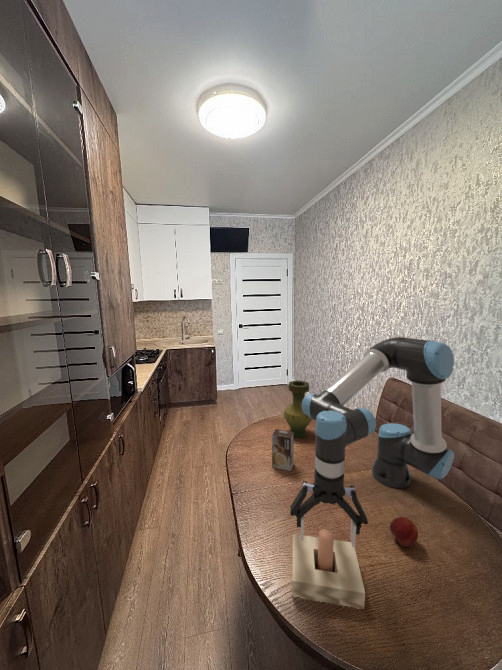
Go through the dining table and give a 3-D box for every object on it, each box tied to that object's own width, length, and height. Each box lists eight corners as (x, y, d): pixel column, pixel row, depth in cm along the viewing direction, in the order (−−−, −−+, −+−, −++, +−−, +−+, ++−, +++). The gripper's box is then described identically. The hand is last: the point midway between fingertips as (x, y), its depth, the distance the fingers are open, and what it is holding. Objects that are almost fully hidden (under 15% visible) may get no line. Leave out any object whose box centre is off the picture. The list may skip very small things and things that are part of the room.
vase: (282, 426, 161) (283, 379, 157) (309, 427, 161) (310, 379, 156) (284, 441, 145) (285, 388, 141) (314, 442, 144) (316, 388, 140)
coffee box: (294, 463, 126) (294, 431, 124) (290, 471, 120) (291, 438, 118) (275, 459, 129) (275, 428, 127) (271, 467, 123) (271, 434, 121)
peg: (330, 569, 77) (332, 530, 75) (332, 584, 73) (334, 543, 71) (316, 567, 78) (318, 528, 76) (317, 581, 74) (319, 540, 72)
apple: (416, 557, 81) (419, 534, 80) (388, 544, 85) (389, 522, 84) (416, 538, 87) (419, 516, 86) (390, 527, 91) (392, 506, 90)
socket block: (352, 557, 81) (353, 542, 80) (364, 610, 67) (365, 593, 67) (292, 547, 84) (292, 533, 83) (291, 597, 70) (292, 580, 69)
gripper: (375, 465, 72) (370, 533, 76) (282, 457, 77) (282, 522, 80) (383, 484, 65) (378, 559, 68) (281, 474, 69) (281, 545, 73)
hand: (326, 539), depth 74 cm, fingers open, 13 cm apart
